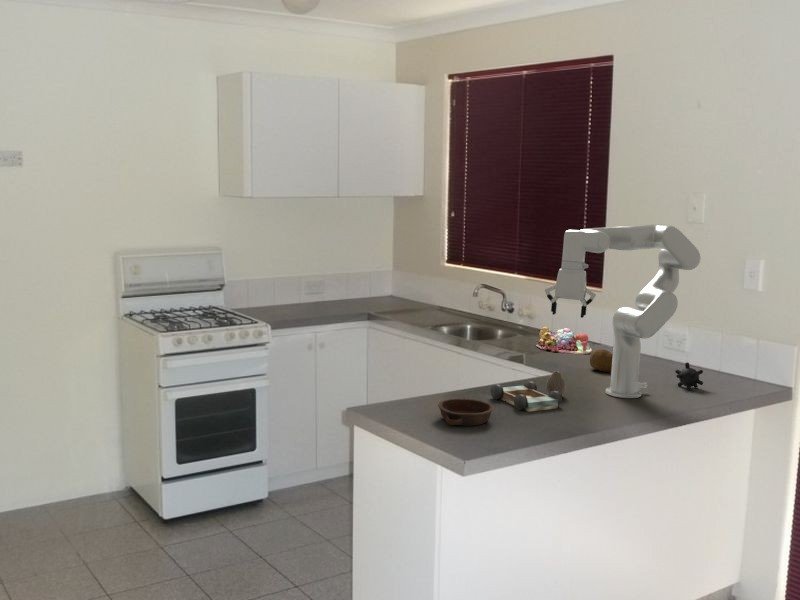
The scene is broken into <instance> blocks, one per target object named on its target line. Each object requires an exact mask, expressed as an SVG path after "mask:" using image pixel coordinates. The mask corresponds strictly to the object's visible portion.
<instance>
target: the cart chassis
mask: <svg viewBox="0 0 800 600" xmlns="http://www.w3.org/2000/svg"><path fill="white" fill-rule="evenodd" d="M537 390H538V386H537V384H536V382H534V381H533V380H532V381H525V383H524V385H516V386H504V387H503V386H502V385H501V384H492V385H491V388H490V395H491V398H492V399H494V400H500V401H501V400H502V401H503V402H505V401H506V403H508V404H510V405H512V406H514V407H515V409H516V410H518V411H527V412H529V413H530V412H537V411H544V410H545V411H546V410H553V409H559V408H558V406H560V405H561V404H562V403H563V402H562V401H563V398H562V397H563V396H561V394H560V392H559V391H551V392H550V393H549V394H545V393H542V392H540V391H537Z"/></svg>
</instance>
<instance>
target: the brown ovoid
mask: <svg viewBox="0 0 800 600" xmlns="http://www.w3.org/2000/svg"><path fill="white" fill-rule="evenodd" d="M566 385H567V384H566V381H565V379H564V377H563V376H562V374H561V372H559V371H553V372H552V374H551V375H550V376H549V377H548V379H547V380H546V382H545V390H546V393H547V394H546V395H548V394H549V393H550V392H551V391H559V392H560V394H561V396H562V397H563V396H564V395H565V393H566V389H567V387H566Z"/></svg>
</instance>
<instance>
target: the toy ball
mask: <svg viewBox="0 0 800 600" xmlns="http://www.w3.org/2000/svg"><path fill="white" fill-rule="evenodd" d="M684 366H685V368H683V369H682V370H679V369H675V370H674V371H675V374H676V378H677V379H679V382H678V383H677V386H678V387H679V386H681V387H682V386H685V387H686V390H687V391H691V389H692V387H693V386H694V387H697V388H698V385H700V386H703V385H704V381H703V380H700V375H702V374H703V373H704V370H703V369H698V370H696V369H694V368H692V367H690V362H688V361H687V362H685V364H684ZM694 387H693V388H694Z"/></svg>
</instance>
